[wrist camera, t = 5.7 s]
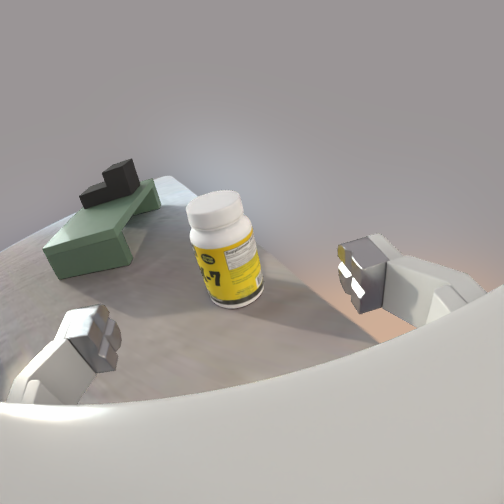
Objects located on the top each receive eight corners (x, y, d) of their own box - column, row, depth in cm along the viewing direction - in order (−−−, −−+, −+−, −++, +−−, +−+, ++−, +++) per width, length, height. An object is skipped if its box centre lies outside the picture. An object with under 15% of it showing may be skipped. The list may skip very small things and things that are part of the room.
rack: (58, 279, 33) (42, 248, 31) (103, 220, 49) (93, 196, 46) (129, 265, 33) (113, 228, 30) (161, 205, 48) (152, 178, 45)
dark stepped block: (84, 209, 40) (74, 183, 38) (95, 199, 44) (86, 174, 41) (132, 194, 40) (122, 165, 37) (140, 184, 43) (132, 158, 41)
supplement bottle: (201, 291, 26) (171, 205, 21) (244, 267, 28) (223, 183, 23) (228, 319, 22) (196, 222, 18) (276, 290, 24) (258, 194, 20)
